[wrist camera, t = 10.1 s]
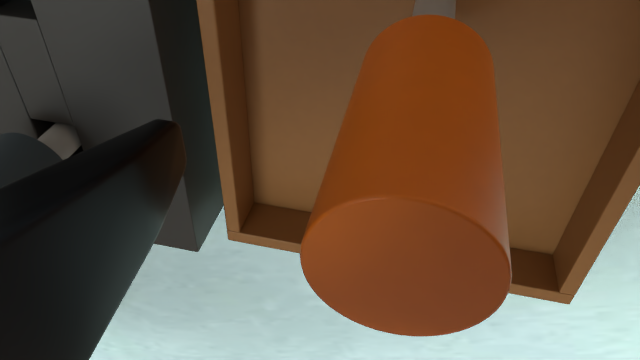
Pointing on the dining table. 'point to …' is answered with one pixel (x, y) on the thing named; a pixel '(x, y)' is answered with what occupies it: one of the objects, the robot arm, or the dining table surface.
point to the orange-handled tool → (415, 185)
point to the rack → (115, 86)
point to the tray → (512, 103)
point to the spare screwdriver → (35, 151)
